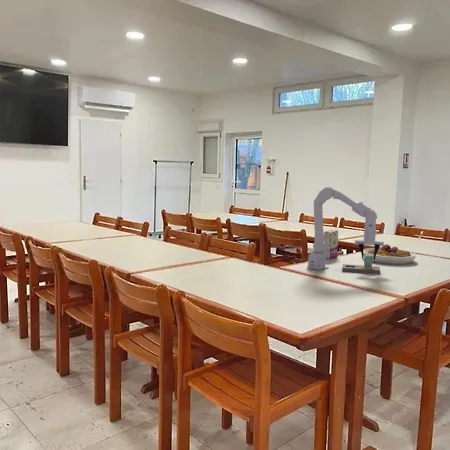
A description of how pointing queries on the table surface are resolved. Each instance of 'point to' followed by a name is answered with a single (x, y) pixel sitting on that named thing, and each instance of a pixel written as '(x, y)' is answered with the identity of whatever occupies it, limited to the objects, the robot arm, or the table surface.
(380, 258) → the bowl
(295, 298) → the table surface
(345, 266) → the board with square hole
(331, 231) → the candy bar box
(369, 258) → the plug
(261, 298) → the table surface
